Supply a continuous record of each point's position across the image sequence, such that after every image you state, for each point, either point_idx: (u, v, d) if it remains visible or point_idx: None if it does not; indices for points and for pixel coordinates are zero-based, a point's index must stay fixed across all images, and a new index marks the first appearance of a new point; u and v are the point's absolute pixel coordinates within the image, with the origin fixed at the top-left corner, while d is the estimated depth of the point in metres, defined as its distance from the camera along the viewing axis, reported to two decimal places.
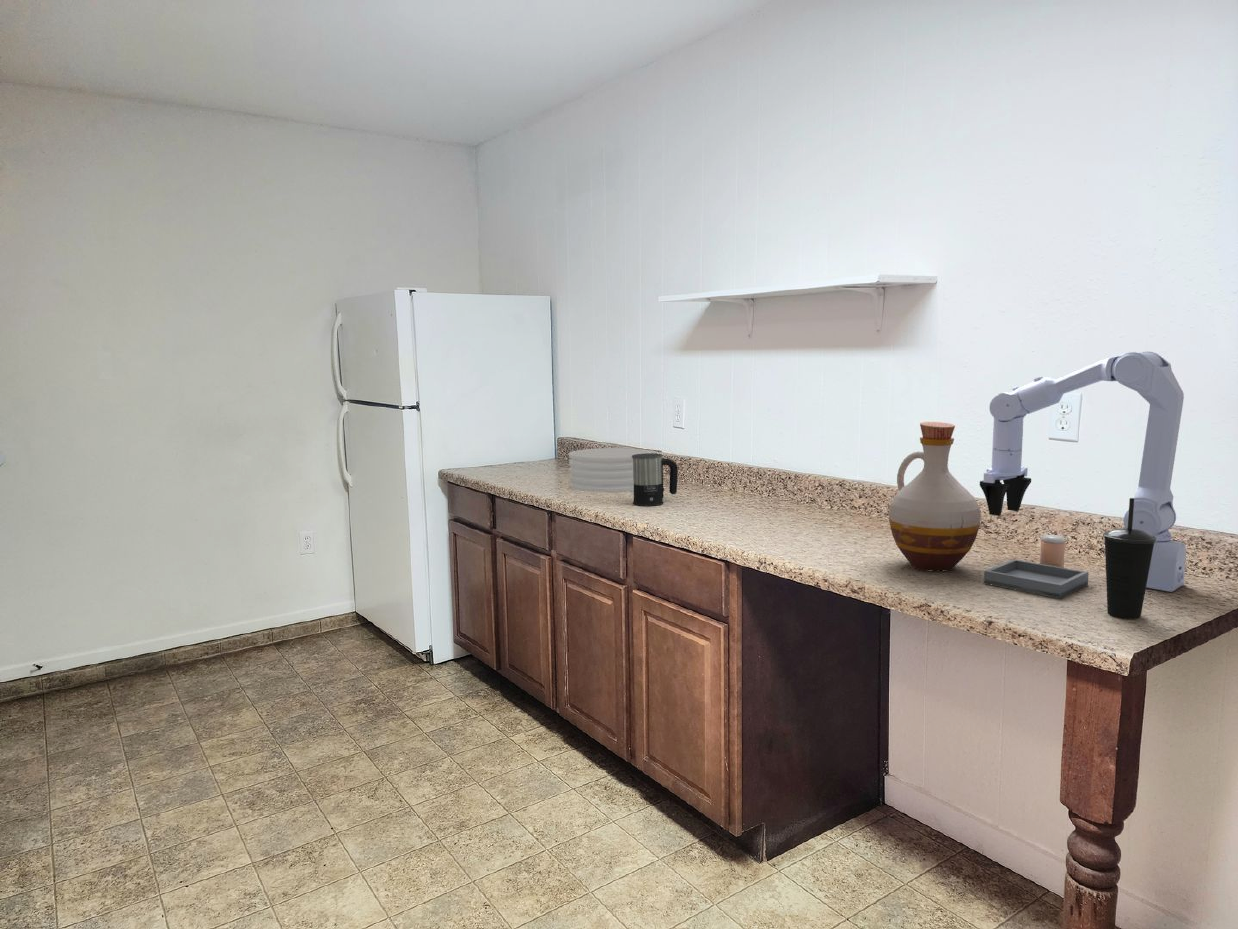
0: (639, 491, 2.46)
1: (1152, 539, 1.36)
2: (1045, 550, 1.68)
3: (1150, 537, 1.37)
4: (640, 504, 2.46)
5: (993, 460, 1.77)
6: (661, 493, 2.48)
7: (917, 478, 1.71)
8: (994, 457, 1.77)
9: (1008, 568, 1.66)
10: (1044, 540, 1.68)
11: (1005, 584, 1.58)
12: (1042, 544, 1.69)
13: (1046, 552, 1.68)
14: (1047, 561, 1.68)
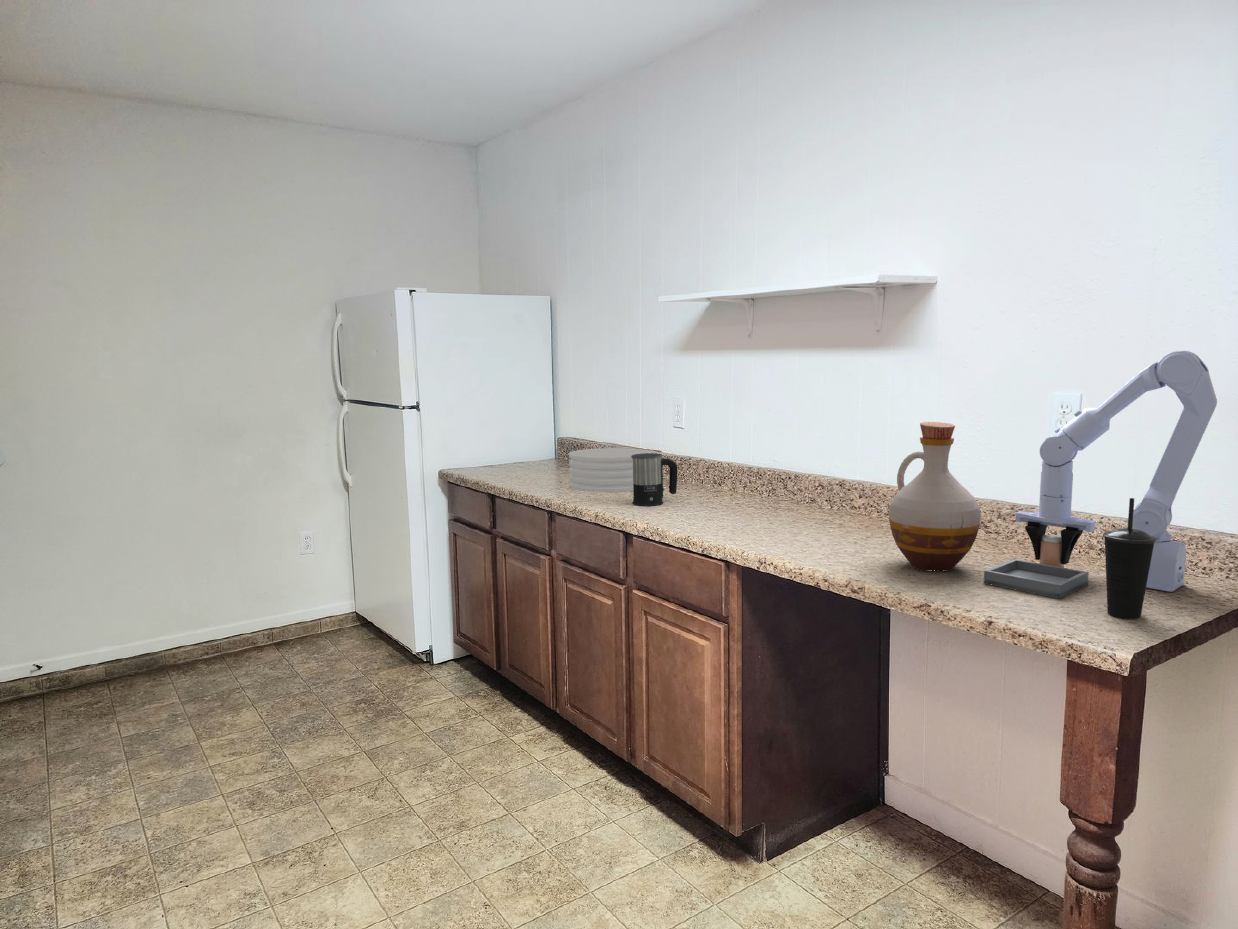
0: (639, 491, 2.47)
1: (1152, 539, 1.36)
2: (1045, 550, 1.68)
3: (1150, 537, 1.37)
4: (640, 504, 2.47)
5: None
6: (661, 493, 2.49)
7: (917, 478, 1.71)
8: None
9: (1008, 568, 1.66)
10: (1044, 540, 1.68)
11: (1005, 584, 1.58)
12: (1042, 544, 1.69)
13: (1046, 552, 1.68)
14: (1047, 561, 1.68)
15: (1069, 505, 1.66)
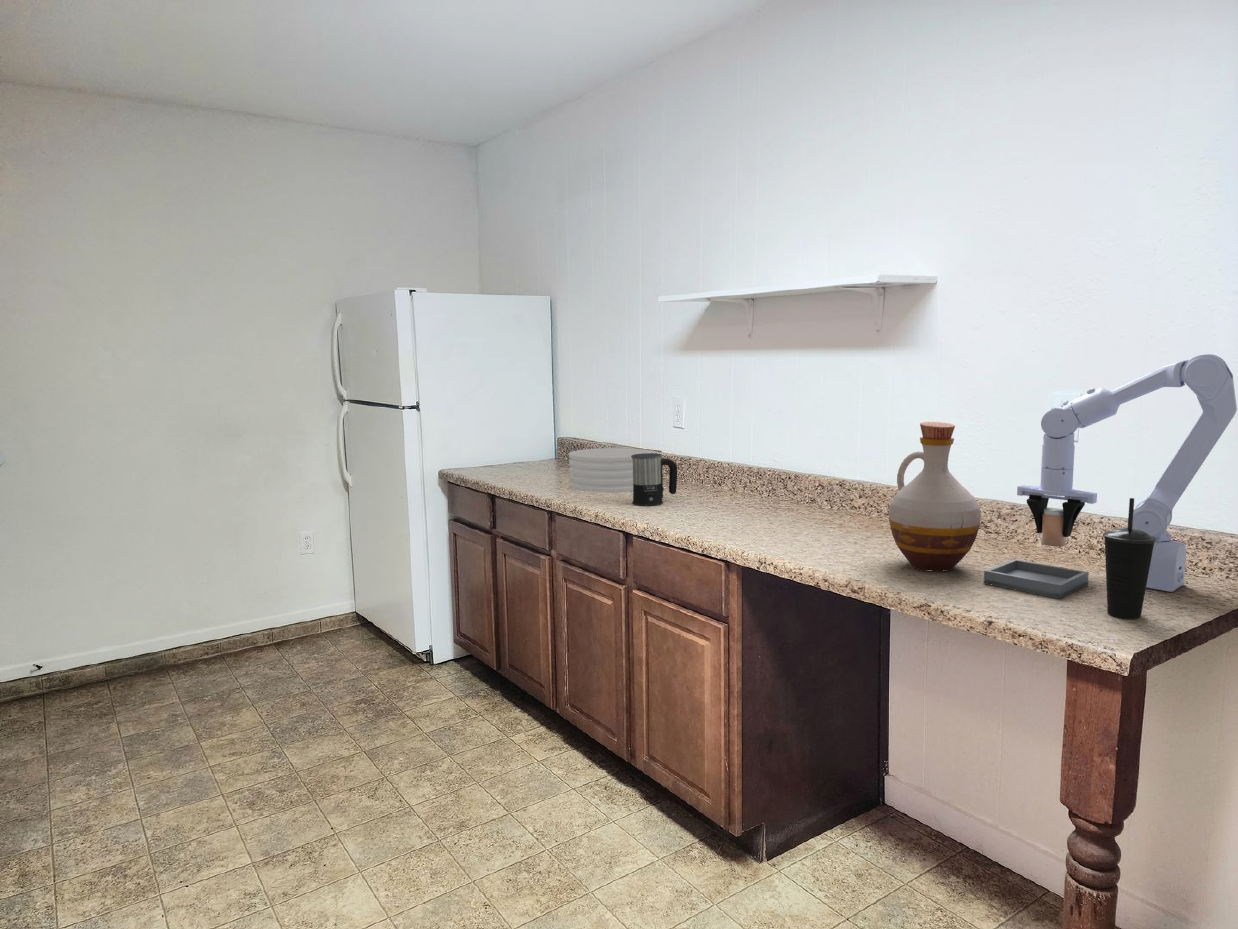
0: (638, 491, 2.47)
1: (1152, 539, 1.36)
2: (1047, 523, 1.67)
3: (1150, 537, 1.37)
4: (640, 504, 2.47)
5: None
6: (661, 493, 2.49)
7: (917, 478, 1.71)
8: None
9: (1008, 568, 1.66)
10: (1046, 513, 1.68)
11: (1005, 584, 1.58)
12: (1044, 517, 1.68)
13: (1048, 525, 1.67)
14: (1049, 534, 1.67)
15: (1071, 477, 1.65)
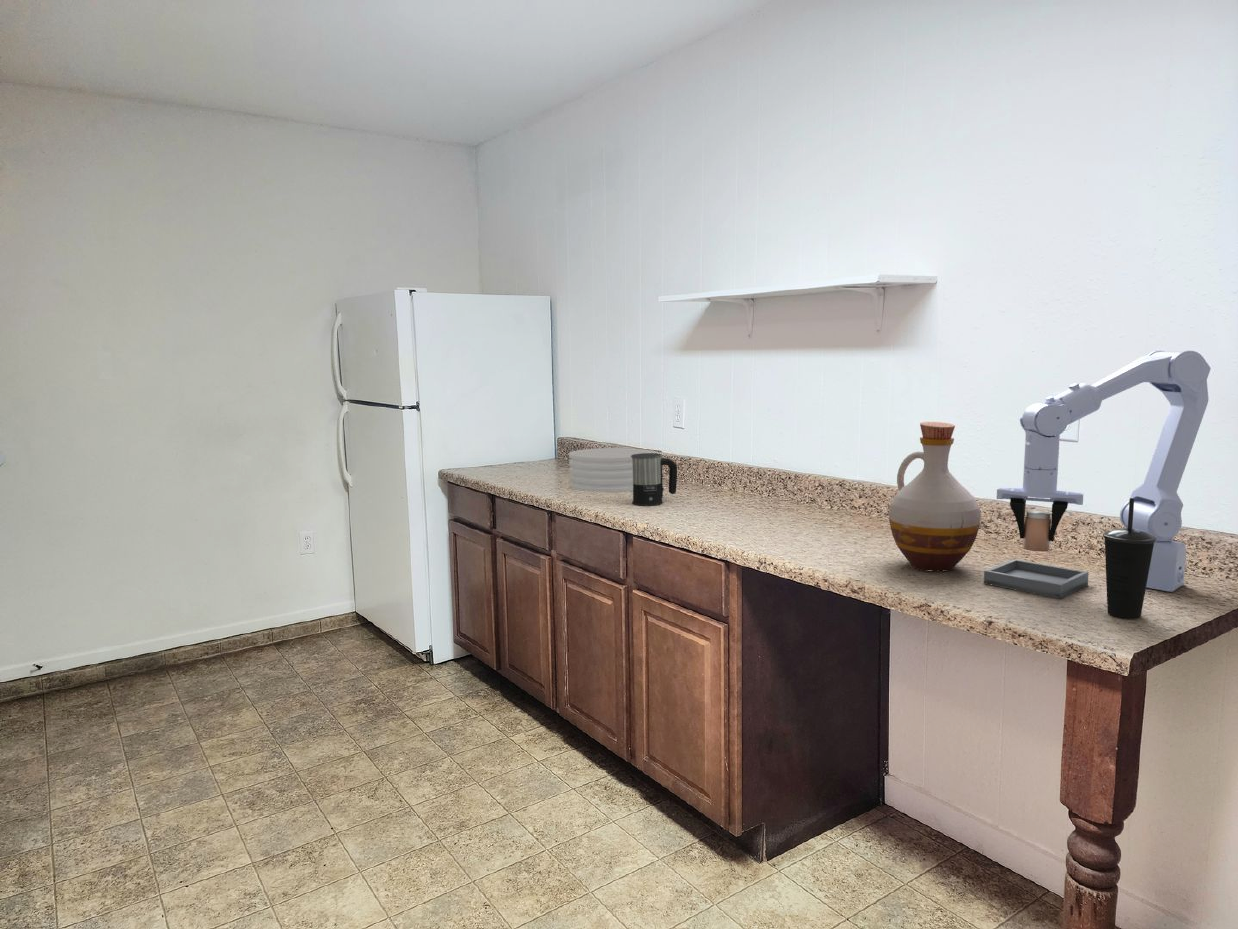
0: (638, 491, 2.47)
1: (1152, 539, 1.36)
2: (1034, 527, 1.57)
3: (1150, 537, 1.37)
4: (639, 504, 2.47)
5: None
6: (660, 493, 2.49)
7: (917, 478, 1.71)
8: None
9: (1008, 568, 1.66)
10: (1031, 516, 1.57)
11: (1005, 584, 1.58)
12: (1029, 521, 1.57)
13: (1035, 529, 1.57)
14: (1036, 539, 1.57)
15: None
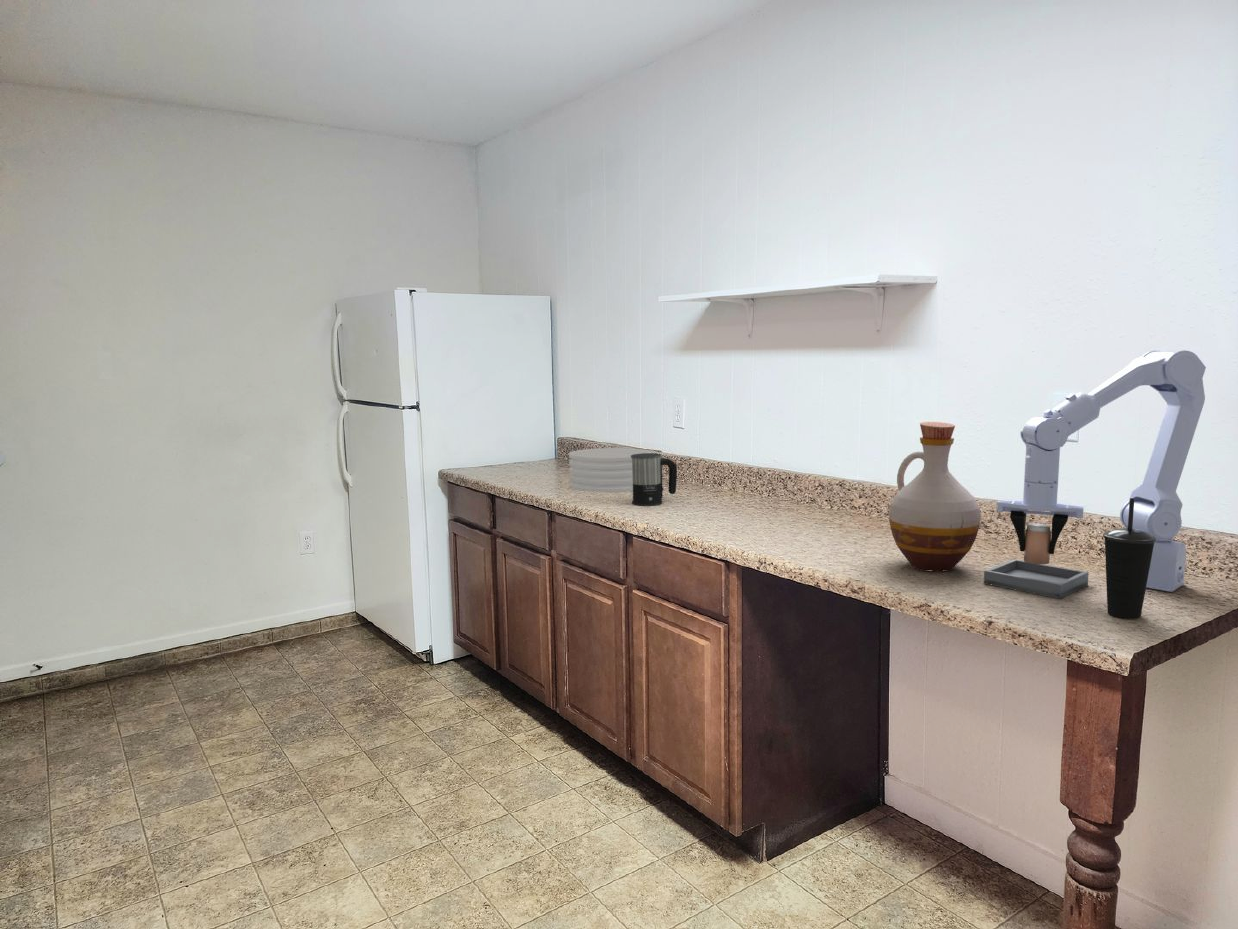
0: (638, 491, 2.47)
1: (1152, 539, 1.36)
2: (1034, 540, 1.57)
3: (1150, 537, 1.37)
4: (639, 504, 2.47)
5: None
6: (660, 493, 2.49)
7: (917, 478, 1.71)
8: None
9: (1008, 568, 1.66)
10: (1031, 529, 1.58)
11: (1005, 584, 1.58)
12: (1029, 534, 1.58)
13: (1035, 542, 1.57)
14: (1036, 552, 1.57)
15: (1057, 491, 1.56)
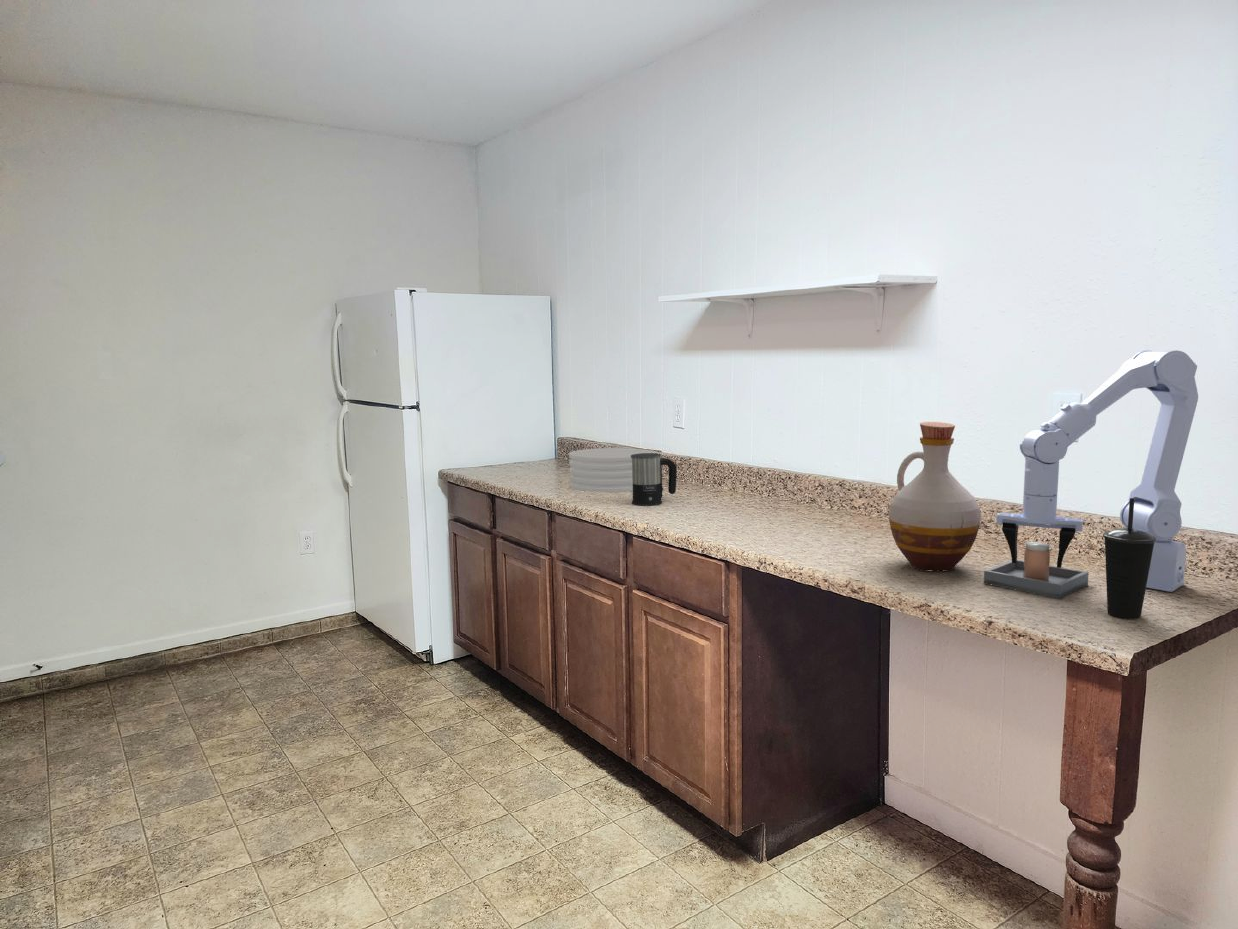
0: (638, 491, 2.47)
1: (1152, 539, 1.36)
2: (1033, 559, 1.58)
3: (1150, 537, 1.37)
4: (639, 504, 2.47)
5: None
6: (660, 493, 2.49)
7: (917, 478, 1.71)
8: None
9: (1008, 568, 1.66)
10: (1031, 548, 1.58)
11: (1005, 584, 1.58)
12: (1028, 553, 1.58)
13: (1034, 561, 1.58)
14: (1035, 571, 1.58)
15: (1056, 504, 1.56)
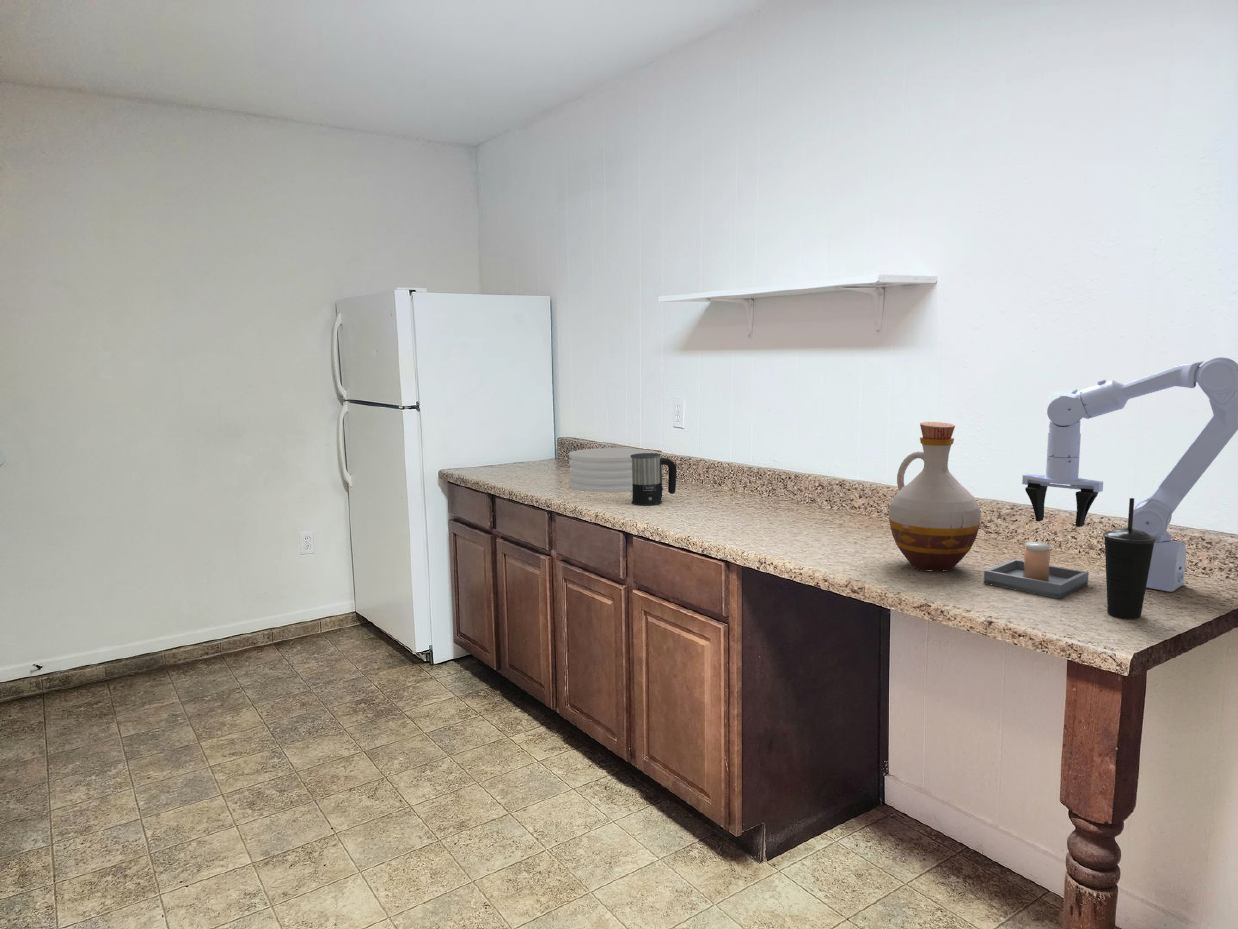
0: (638, 491, 2.47)
1: (1152, 539, 1.36)
2: (1033, 559, 1.58)
3: (1150, 537, 1.37)
4: (639, 503, 2.47)
5: None
6: (660, 492, 2.49)
7: (917, 478, 1.71)
8: None
9: (1008, 568, 1.66)
10: (1030, 548, 1.58)
11: (1005, 584, 1.58)
12: (1028, 553, 1.58)
13: (1034, 561, 1.58)
14: (1035, 571, 1.58)
15: (1077, 466, 1.64)
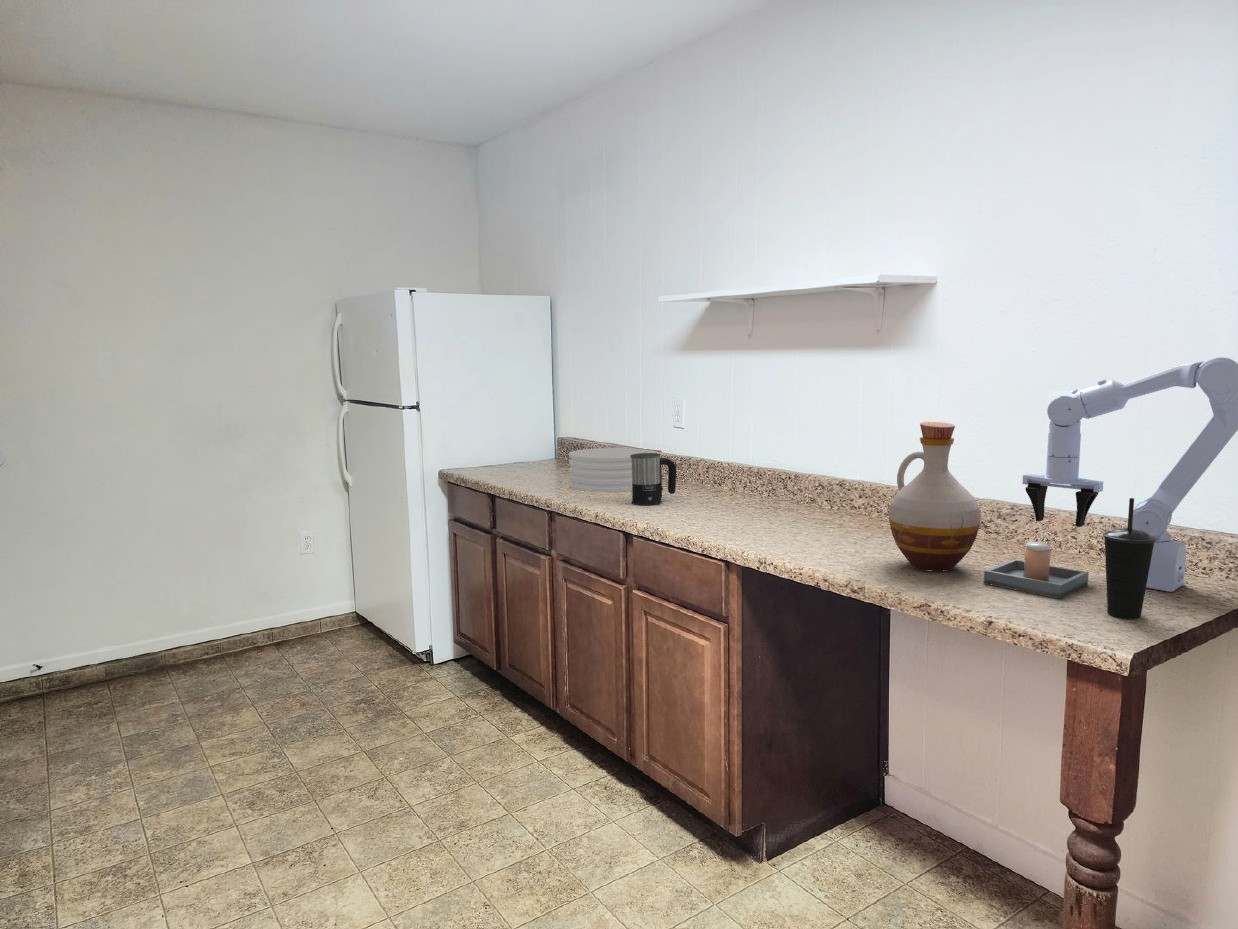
0: (637, 491, 2.48)
1: (1152, 539, 1.36)
2: (1033, 559, 1.58)
3: (1150, 537, 1.37)
4: (639, 503, 2.48)
5: None
6: (659, 492, 2.49)
7: (917, 478, 1.71)
8: None
9: (1008, 568, 1.66)
10: (1031, 548, 1.58)
11: (1005, 584, 1.58)
12: (1029, 553, 1.58)
13: (1034, 561, 1.58)
14: (1035, 571, 1.58)
15: (1077, 466, 1.64)
